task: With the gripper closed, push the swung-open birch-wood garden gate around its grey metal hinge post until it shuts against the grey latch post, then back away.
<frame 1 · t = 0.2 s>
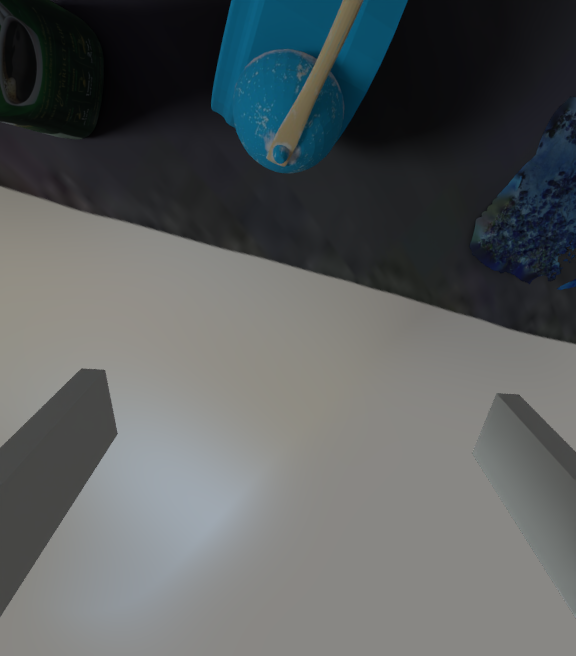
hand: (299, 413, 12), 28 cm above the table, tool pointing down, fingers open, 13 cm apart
rock: (554, 201, 35), on the table
alarm clock: (296, 64, 30), on the table
coffee jar: (63, 78, 31), on the table
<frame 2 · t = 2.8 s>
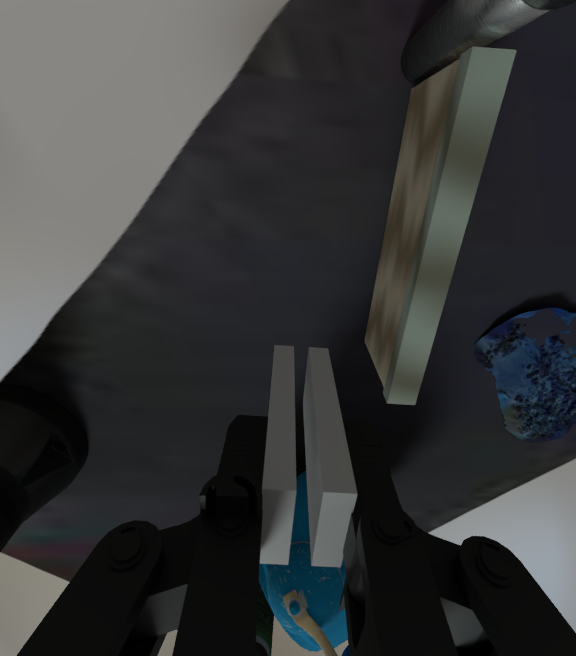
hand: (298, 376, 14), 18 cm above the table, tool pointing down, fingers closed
rock: (547, 364, 36), on the table
alarm clock: (316, 482, 43), on the table
coffee jar: (245, 569, 51), on the table
gate: (421, 248, 24), point 6 cm above the table, hinge at -60.0°
gate posts: (534, 163, 27), on the table
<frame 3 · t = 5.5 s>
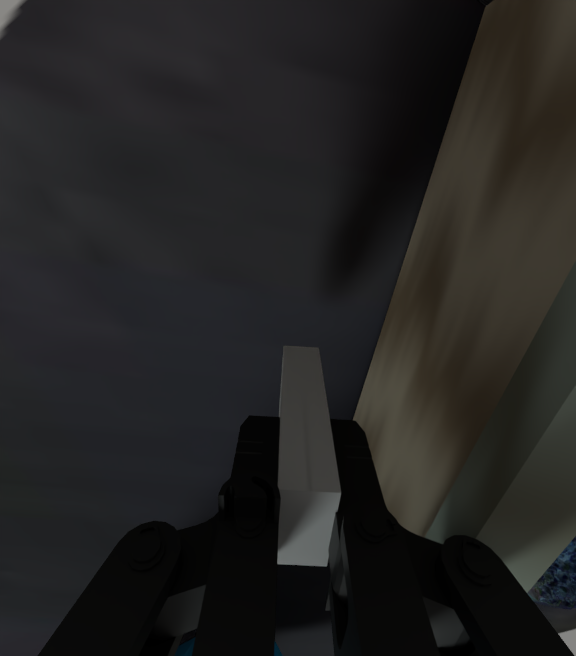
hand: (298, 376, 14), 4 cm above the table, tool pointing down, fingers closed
alarm clock: (233, 619, 29), on the table
gate: (473, 364, 11), point 6 cm above the table, hinge at -57.5°, touching gripper
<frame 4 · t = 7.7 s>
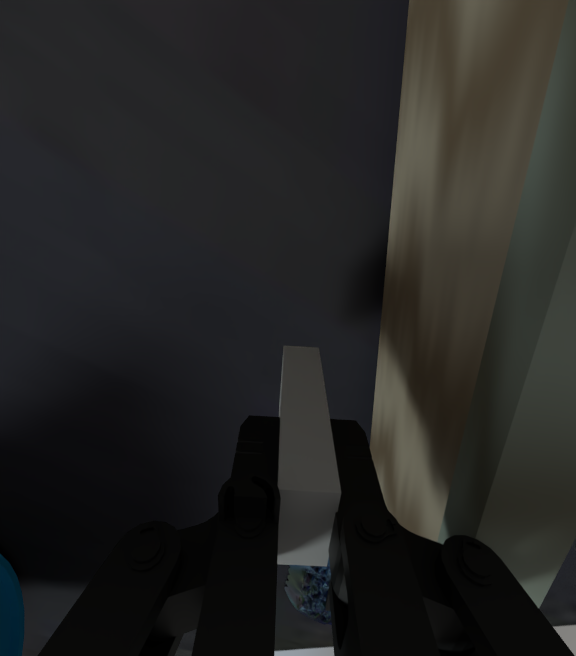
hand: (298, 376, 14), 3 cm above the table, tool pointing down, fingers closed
rock: (372, 535, 25), on the table
gate: (466, 352, 10), point 6 cm above the table, hinge at -22.5°, touching gripper
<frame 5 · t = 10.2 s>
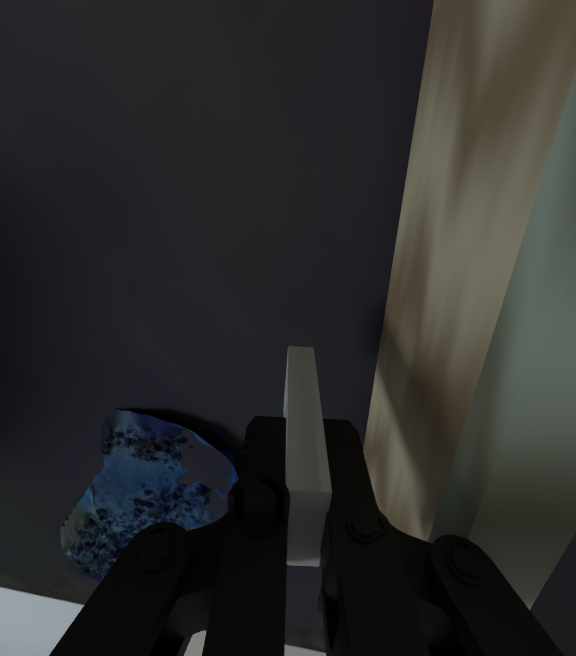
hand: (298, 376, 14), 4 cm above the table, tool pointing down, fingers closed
rock: (175, 505, 24), on the table
gate: (468, 355, 10), point 6 cm above the table, hinge at 2.3°, touching gripper
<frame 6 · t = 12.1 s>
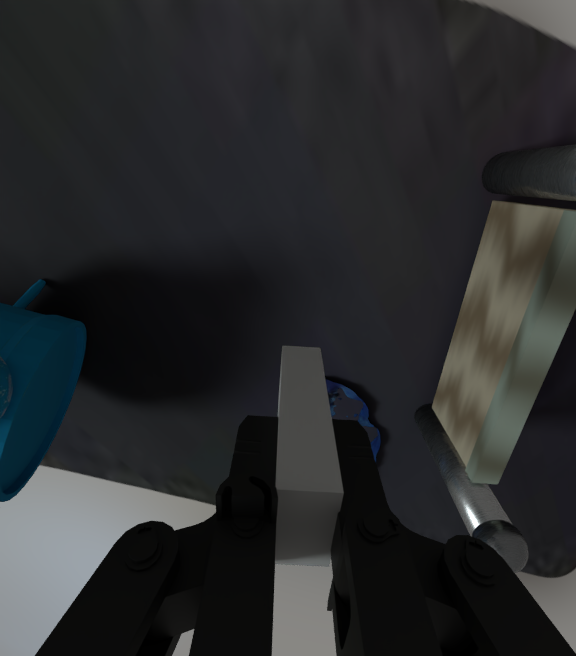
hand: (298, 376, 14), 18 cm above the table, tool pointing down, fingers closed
rock: (317, 438, 40), on the table
alarm clock: (61, 345, 35), on the table
gate: (502, 342, 27), point 6 cm above the table, hinge at 0.4°
gate posts: (459, 312, 32), on the table
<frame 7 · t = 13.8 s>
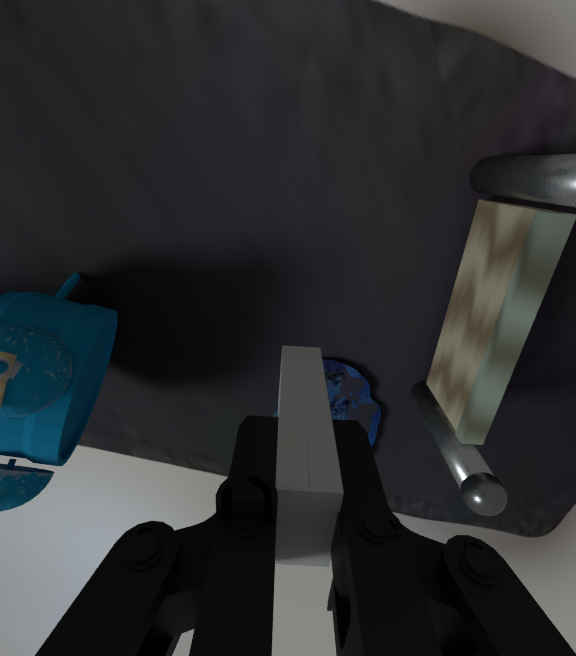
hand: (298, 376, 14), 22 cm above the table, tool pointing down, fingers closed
rock: (323, 414, 44), on the table
alarm clock: (92, 333, 38), on the table
gate: (486, 322, 31), point 6 cm above the table, hinge at 0.4°
gate posts: (450, 298, 36), on the table
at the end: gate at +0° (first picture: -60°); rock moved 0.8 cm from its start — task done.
